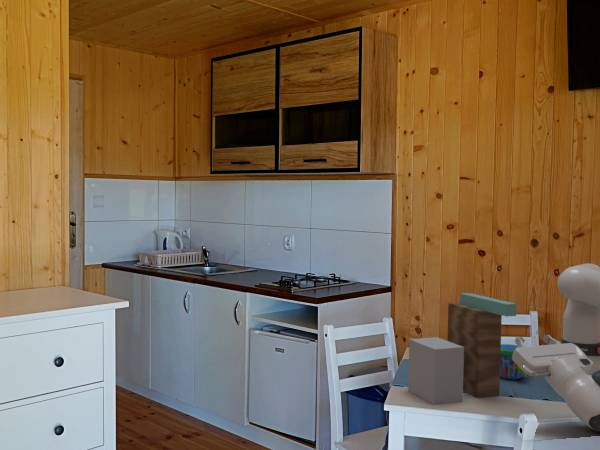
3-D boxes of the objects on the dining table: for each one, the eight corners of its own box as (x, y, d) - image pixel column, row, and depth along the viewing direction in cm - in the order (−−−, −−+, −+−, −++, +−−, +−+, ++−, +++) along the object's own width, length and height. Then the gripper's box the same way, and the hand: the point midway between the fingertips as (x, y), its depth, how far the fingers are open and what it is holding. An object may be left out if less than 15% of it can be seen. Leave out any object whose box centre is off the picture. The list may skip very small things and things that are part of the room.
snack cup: (486, 371, 220) (487, 342, 219) (516, 371, 220) (516, 342, 220) (503, 383, 204) (504, 352, 204) (535, 384, 205) (536, 352, 204)
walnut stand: (499, 395, 192) (501, 310, 191) (477, 398, 189) (479, 311, 188) (466, 381, 206) (469, 302, 206) (446, 383, 204) (448, 303, 203)
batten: (516, 315, 181) (516, 303, 181) (506, 316, 180) (506, 304, 180) (469, 303, 202) (469, 293, 202) (459, 304, 201) (460, 293, 200)
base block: (462, 400, 186) (464, 347, 185) (433, 404, 182) (435, 349, 181) (435, 387, 199) (437, 337, 198) (408, 390, 195) (409, 339, 194)
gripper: (526, 386, 160) (496, 348, 171) (588, 379, 167) (555, 343, 178) (536, 368, 157) (504, 331, 168) (598, 362, 164) (564, 326, 175)
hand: (531, 337), depth 173 cm, fingers open, 8 cm apart
